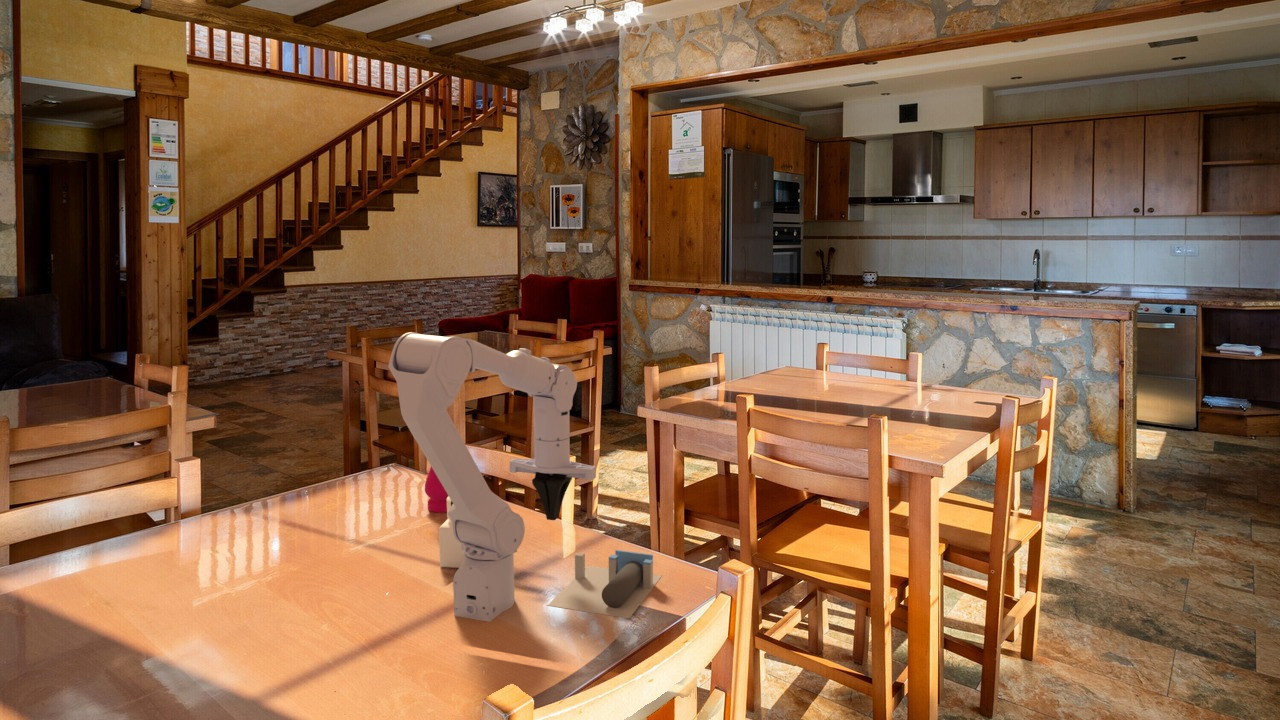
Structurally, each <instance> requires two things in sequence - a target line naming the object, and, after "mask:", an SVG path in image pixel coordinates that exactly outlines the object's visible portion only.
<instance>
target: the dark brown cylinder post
mask: <svg viewBox="0 0 1280 720" xmlns="http://www.w3.org/2000/svg"><path fill="white" fill-rule="evenodd" d="M642 580H643V566H642V565H641V564H640V563H638V562H635V561H630V562H628V563H627V564H626V565H625V566H624V567H623V568H622V569H621V570H620V571H619V572H618V573H617V574H616V576H615V577H614V578H613V579H612V580H611V581H610V582H609V583H608V584H607V585H606V586H605V588H604V589H603V591H602V599H603V601H604V603H605V604H606V605H607V606H609V607H611V608H618V607H620V606H621V605H622V604H623V603H624V602H625V601H626V599H627V598H628V597H629V596H630V594H631V593H632V592H633V591H634V590H635V588H636V587H637V586H638V585H639V584H640V582H641V581H642Z"/></svg>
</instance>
